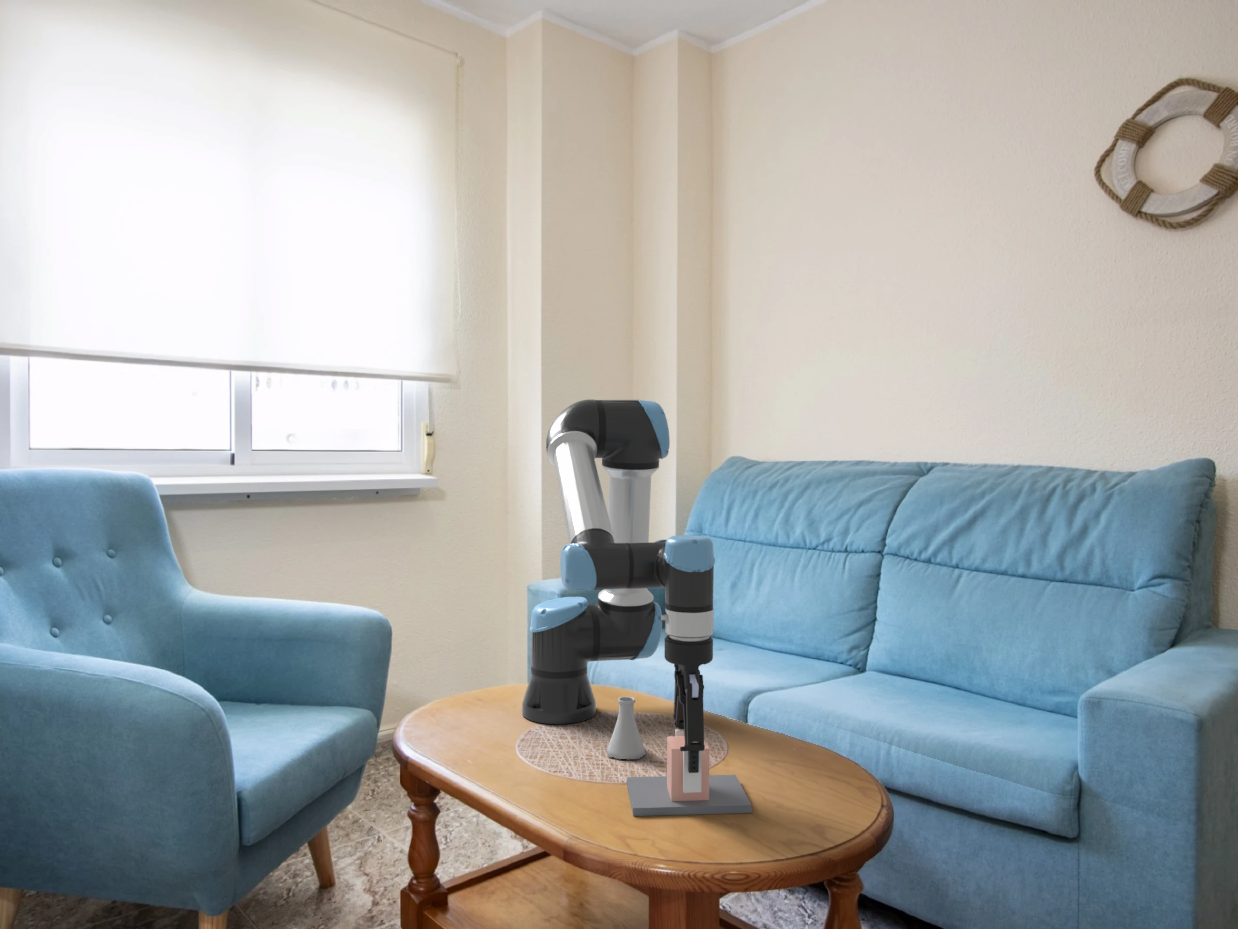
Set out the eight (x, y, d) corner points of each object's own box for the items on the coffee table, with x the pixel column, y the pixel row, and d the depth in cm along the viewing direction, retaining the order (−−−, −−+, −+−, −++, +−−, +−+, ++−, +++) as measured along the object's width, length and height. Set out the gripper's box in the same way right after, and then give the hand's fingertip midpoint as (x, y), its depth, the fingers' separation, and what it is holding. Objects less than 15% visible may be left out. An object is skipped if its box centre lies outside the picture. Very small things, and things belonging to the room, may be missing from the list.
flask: (642, 763, 153) (642, 706, 152) (602, 759, 154) (602, 703, 154) (649, 748, 160) (649, 694, 159) (610, 745, 161) (611, 691, 161)
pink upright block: (666, 786, 139) (667, 736, 139) (702, 785, 140) (703, 735, 139) (671, 801, 133) (671, 749, 133) (709, 800, 134) (709, 748, 134)
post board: (626, 784, 143) (627, 747, 143) (735, 782, 144) (735, 744, 144) (633, 816, 131) (633, 775, 131) (751, 813, 132) (751, 772, 132)
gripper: (657, 621, 146) (656, 756, 147) (673, 652, 125) (672, 809, 126) (701, 621, 146) (700, 755, 147) (725, 651, 126) (724, 807, 126)
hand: (687, 780), depth 136 cm, fingers open, 8 cm apart
